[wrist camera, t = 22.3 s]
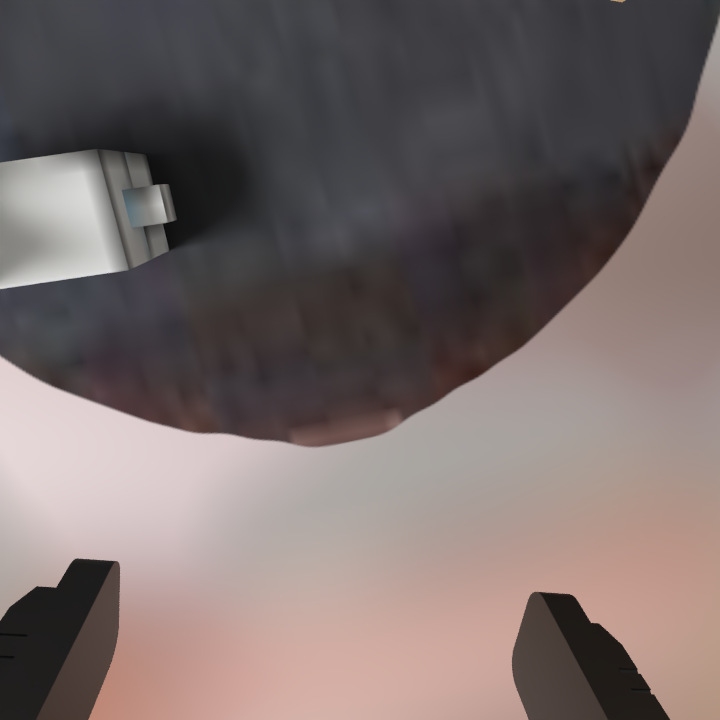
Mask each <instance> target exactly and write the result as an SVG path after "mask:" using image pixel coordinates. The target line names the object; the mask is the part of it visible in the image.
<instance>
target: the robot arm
mask: <svg viewBox="0 0 720 720" xmlns="http://www.w3.org/2000/svg"><path fill="white" fill-rule="evenodd" d="M119 590H120V566H119V563H118V562H117V561H104V560H90V559H75V560H73V561H72V563H71V564H70V566H69V567H68V569H67V571H66V572H65V574H64V576H63V577H62V579H61V581H60V582H59V584H58V586H57V587H56V588H51V587H38V586H37V587H35V588H34V589H33V590H32V591H30V592H29V593H28V594H27V595H25V596H24V597H22V598H21V599H20V600H18V601H17V602H16V603H15V604H13V605H12V606H11V607H10V608H9V609H8V610H7V612H6V613H5V615H4V616H3V618H2V619H1V621H0V720H88V719H89V717H90V714H91V711H92V709H93V707H94V704H95V702H96V699H97V697H98V694H99V692H100V689H101V687H102V684H103V682H104V679H105V677H106V674H107V672H108V670H109V667H110V664H111V662H112V658H113V655H114V651H115V647H116V643H117V637H118V629H119V592H120V591H119ZM512 670H513V677H514V681H515V685H516V688H517V691H518V693H519V696H520V698H521V701H522V703H523V706H524V708H525V711H526V713H527V716H528V719H529V720H670V719H669V717H668V716H667V714H666V713H665V711H664V709H663V708H662V706H661V705H660V703H659V702H658V700H657V699H656V697H655V695H652V694H651V692H650V690H651V689H650V688H649V686H648V685H647V683H646V682H645V680H644V678H643V677H642V675H641V674H638V672H637V668H636V666H635V664H634V663H633V661H632V660H631V658H630V657H629V655H628V653H627V652H626V650H625V649H624V647H623V646H622V644H620V643H619V642H618V641H617V640H616V639H615V638H614V637H613V636H612V635H611V634H610V633H609V632H608V631H606V630H605V629H604V628H603V627H602V626H601V625H600V624H598V623H591V622H590V621H589V619H588V618H587V616H586V614H585V612H584V611H583V609H582V608H581V606H580V604H579V603H578V601H577V600H576V598H575V597H574V596H572V595H570V594H558V593H545V592H534V593H532V594H531V595H530V597H529V600H528V603H527V606H526V610H525V613H524V616H523V619H522V623H521V626H520V629H519V633H518V636H517V639H516V643H515V646H514V650H513V657H512Z"/></svg>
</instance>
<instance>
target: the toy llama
mask: <svg viewBox="0 0 720 720" xmlns="http://www.w3.org/2000/svg"><path fill="white" fill-rule="evenodd" d="M175 220H177V218H176V213H175V209H174V205H173V201H172V196H171V192H170V188H169V184H160V185H153V181H152V177H151V173H150V169H149V165H148V161H147V156H146V154H138V153H129V152H120V151H111V150H103V149H92V150H85V151H78V152H71V153H64V154H57V155H50V156H44V157H37V158H30V159H23V160H16V161H9V162H2V163H0V289H3V288H10V287H16V286H23V285H30V284H37V283H44V282H50V281H57V280H64V279H71V278H78V277H85V276H91V275H98V274H105V273H112V272H119V271H125V270H130V269H132V268H134V267H136V266H138V265H140V264H143V263H145V262H147V261H149V260H151V259H153V258H155V257H157V256H159V255H161V254H163V253H166V252H168V251H169V248H168V243H167V239H166V235H165V231H164V227H163V223H168V222H171V221H175Z"/></svg>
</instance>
